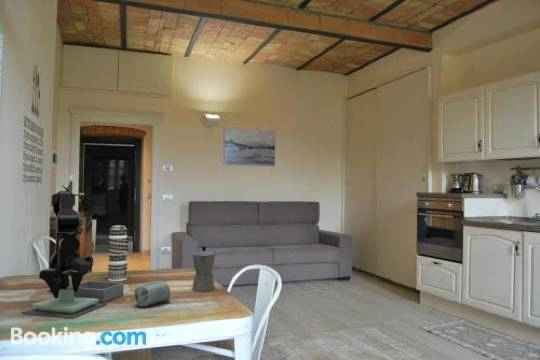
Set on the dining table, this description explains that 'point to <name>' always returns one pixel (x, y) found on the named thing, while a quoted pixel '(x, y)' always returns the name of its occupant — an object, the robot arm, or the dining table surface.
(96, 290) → the tub
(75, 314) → the mat
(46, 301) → the lid
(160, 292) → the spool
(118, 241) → the decorative candle
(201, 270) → the coffeepot
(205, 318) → the dining table surface
